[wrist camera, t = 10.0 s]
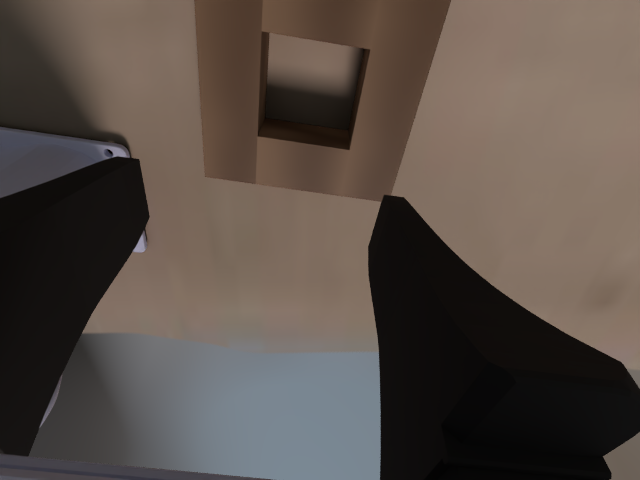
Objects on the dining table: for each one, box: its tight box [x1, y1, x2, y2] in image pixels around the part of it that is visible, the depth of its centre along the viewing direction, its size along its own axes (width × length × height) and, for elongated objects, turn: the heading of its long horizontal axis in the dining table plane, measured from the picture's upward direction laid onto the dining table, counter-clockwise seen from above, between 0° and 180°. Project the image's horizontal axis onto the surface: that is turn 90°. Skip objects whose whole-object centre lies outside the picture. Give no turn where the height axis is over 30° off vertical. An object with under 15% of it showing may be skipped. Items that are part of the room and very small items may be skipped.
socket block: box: [194, 0, 451, 202], centre depth 18 cm, size 10×10×2 cm
